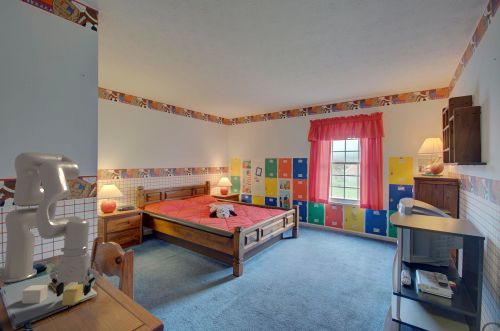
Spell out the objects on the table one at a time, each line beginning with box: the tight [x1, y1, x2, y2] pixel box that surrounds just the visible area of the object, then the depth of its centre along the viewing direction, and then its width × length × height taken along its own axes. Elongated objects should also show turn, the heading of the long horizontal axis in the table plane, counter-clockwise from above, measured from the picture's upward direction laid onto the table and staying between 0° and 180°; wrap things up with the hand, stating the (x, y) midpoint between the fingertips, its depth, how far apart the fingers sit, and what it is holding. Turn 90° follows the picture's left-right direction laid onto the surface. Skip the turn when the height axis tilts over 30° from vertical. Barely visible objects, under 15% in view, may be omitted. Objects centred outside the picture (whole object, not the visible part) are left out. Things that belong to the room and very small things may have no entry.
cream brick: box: [21, 284, 49, 304], centre depth 92 cm, size 6×4×5 cm, turn 99°
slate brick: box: [77, 274, 96, 292], centre depth 103 cm, size 6×4×5 cm, turn 9°
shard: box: [48, 281, 71, 292], centre depth 103 cm, size 11×8×2 cm
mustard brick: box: [61, 283, 84, 306], centre depth 93 cm, size 6×4×5 cm, turn 9°
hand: (73, 294), depth 93 cm, fingers open, 9 cm apart
